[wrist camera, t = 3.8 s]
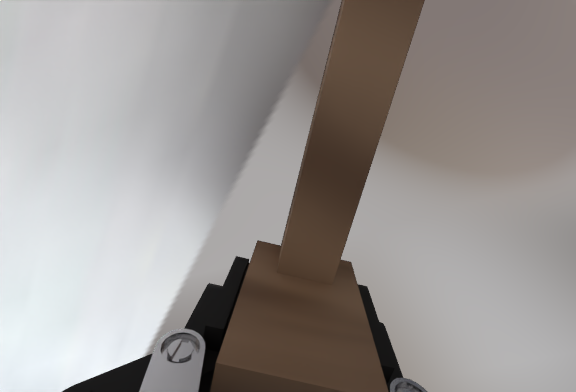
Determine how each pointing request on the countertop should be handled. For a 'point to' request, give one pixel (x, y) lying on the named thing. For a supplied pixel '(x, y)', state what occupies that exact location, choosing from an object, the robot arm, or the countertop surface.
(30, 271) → the countertop surface
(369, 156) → the crook
